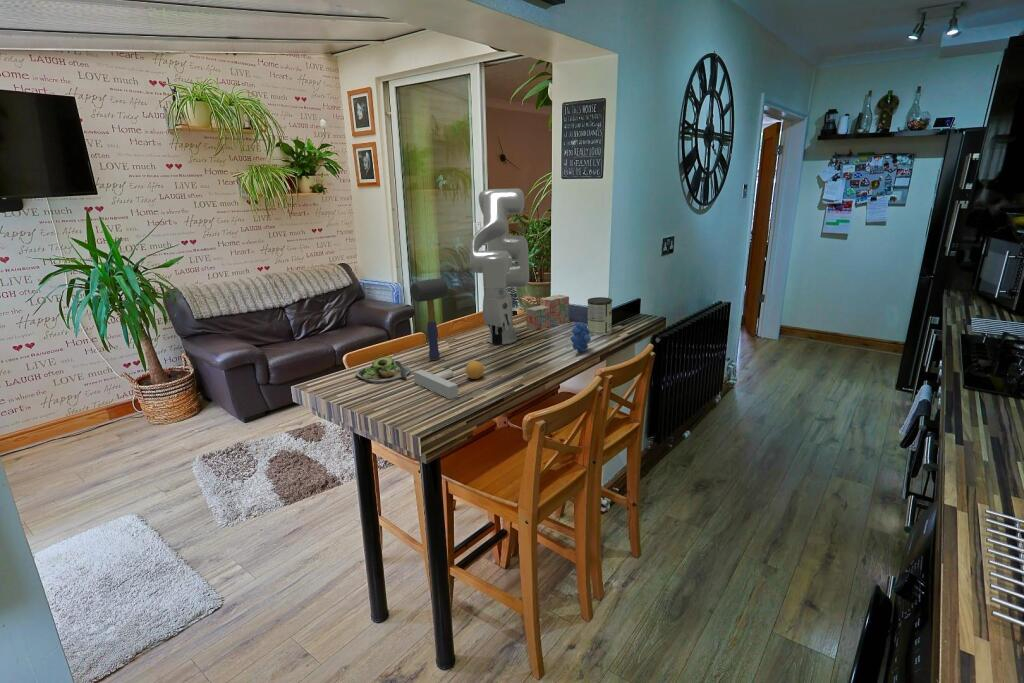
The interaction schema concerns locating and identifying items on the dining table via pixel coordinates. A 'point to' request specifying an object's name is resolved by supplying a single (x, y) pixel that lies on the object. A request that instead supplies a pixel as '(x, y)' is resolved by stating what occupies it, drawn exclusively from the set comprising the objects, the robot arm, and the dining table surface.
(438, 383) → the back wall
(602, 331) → the coffee can
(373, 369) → the salad plate
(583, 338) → the grapes
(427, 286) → the rubber mallet
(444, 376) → the pin
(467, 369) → the ball
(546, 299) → the stack of blocks
